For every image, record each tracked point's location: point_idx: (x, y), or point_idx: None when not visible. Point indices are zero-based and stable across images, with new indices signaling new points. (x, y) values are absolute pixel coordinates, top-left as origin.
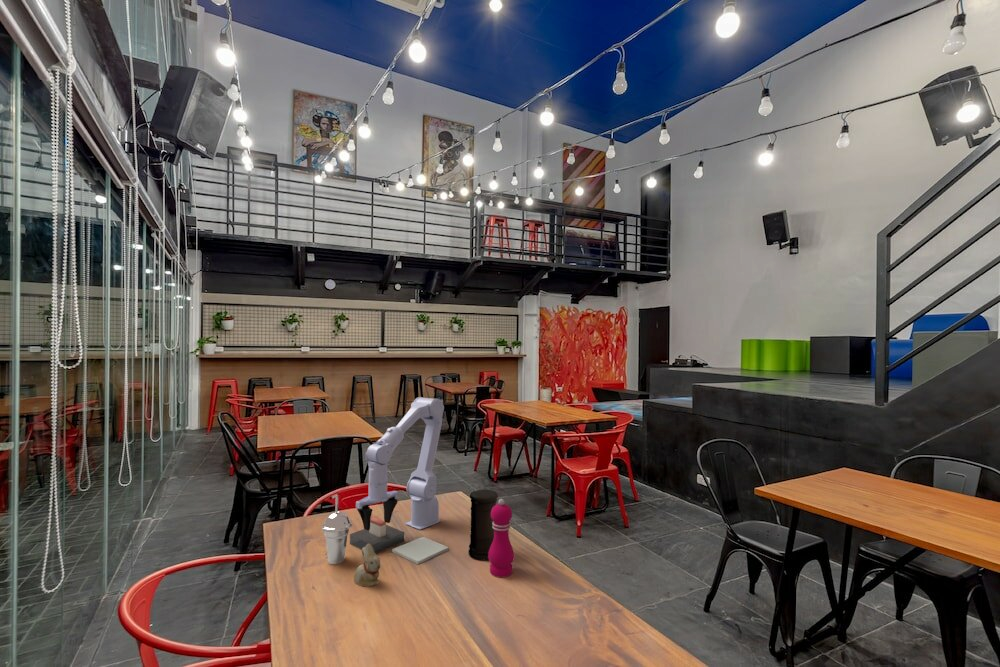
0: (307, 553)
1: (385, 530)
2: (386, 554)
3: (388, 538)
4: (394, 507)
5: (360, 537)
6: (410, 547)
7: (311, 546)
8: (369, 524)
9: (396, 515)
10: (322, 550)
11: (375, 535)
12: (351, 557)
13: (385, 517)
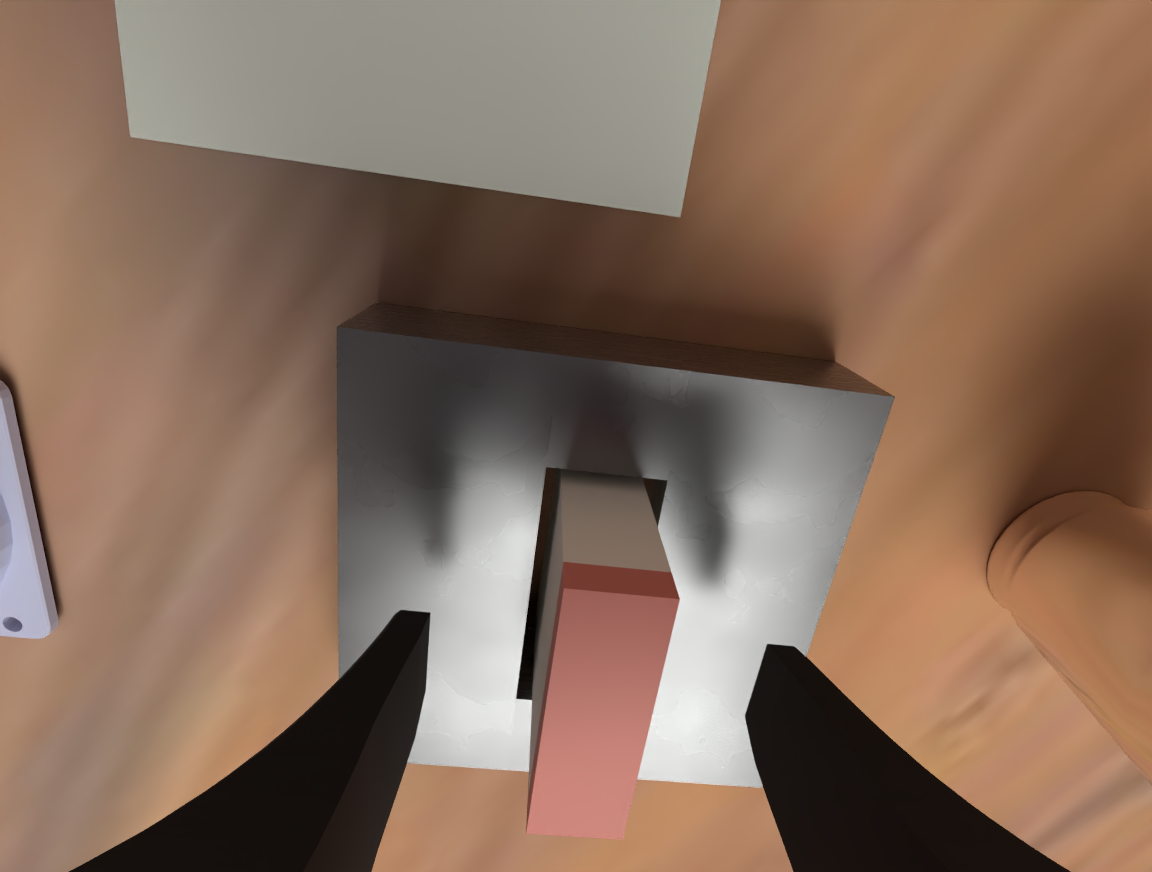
0: (1017, 807)
1: (567, 512)
2: (753, 230)
3: (631, 364)
4: (220, 787)
5: None
6: (499, 20)
7: None
8: (826, 696)
9: (6, 832)
10: (932, 770)
11: None
12: (960, 493)
13: (408, 729)
